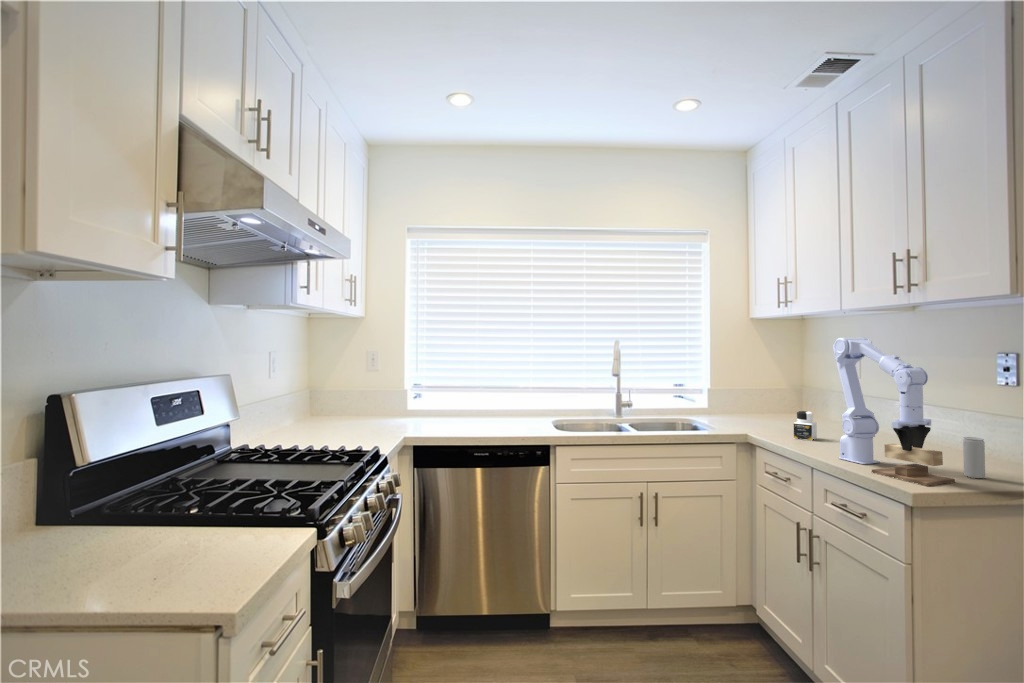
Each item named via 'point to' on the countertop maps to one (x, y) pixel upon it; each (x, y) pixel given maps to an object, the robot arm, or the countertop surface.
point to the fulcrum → (914, 474)
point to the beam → (914, 455)
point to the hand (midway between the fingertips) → (912, 449)
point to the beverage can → (974, 457)
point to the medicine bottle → (805, 426)
